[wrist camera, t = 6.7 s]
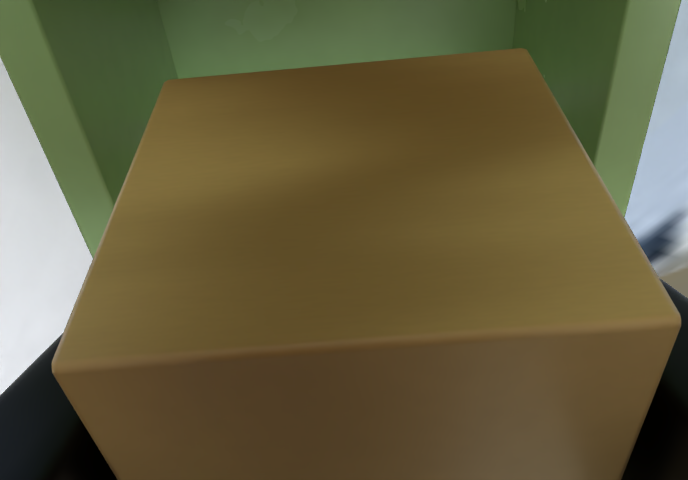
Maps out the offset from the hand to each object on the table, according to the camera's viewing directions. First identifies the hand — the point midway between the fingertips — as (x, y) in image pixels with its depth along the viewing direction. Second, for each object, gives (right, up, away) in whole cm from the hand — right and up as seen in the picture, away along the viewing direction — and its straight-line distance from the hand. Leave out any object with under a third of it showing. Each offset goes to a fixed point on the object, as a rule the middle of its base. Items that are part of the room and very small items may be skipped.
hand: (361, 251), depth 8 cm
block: (0, +1, +1) cm, 1 cm away
